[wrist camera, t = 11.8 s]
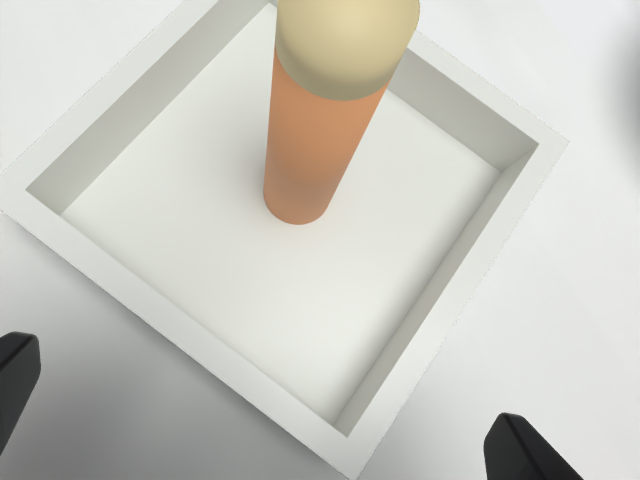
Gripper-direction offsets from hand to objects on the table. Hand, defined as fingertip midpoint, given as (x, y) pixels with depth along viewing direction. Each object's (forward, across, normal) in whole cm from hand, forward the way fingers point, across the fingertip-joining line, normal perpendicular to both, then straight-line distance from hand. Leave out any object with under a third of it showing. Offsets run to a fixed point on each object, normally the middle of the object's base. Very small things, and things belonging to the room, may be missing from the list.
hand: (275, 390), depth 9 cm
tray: (+14, 0, +2) cm, 14 cm away
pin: (+13, 0, +2) cm, 13 cm away
